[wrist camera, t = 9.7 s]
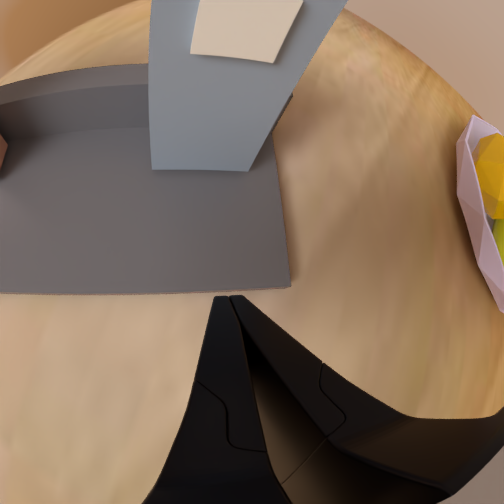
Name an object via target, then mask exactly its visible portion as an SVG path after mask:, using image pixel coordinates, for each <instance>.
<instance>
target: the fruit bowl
mask: <svg viewBox="0 0 504 504" xmlns="http://www.w3.org/2000/svg"><path fill="white" fill-rule="evenodd" d="M456 153H457V196H458V199H459V202H460V205H461V208H462V211H463V214H464V218H465V221H466V224H467V228H468V231H469V235H470V238H471V242H472V246H473V250H474V254H475V257H476V260H477V264H478V267H479V269H480V270H481V272H482V274H483V276H484V278H485V280H486V282H487V284H488V286H489V288H490V291H491V293H492V295H493V297H494V299H495V301H496V304H497V306H498V308H499V311H501V312H503V313H504V136H502V134H501V133H500V132H499V131H498V129H496V128H495V127H494V126H492V125H490V124H489V123H487V122H485V121H484V120H482V119H480V118H478V117H477V116H475V115H472V117H471V118H470V120H469V122H468V124H467V126H466V127H465V129H464V131H463V132H462V134H461V136H460V138H459V139H458V141H457V143H456Z"/></svg>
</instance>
